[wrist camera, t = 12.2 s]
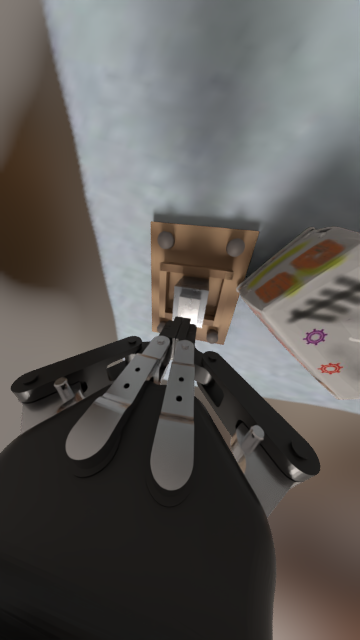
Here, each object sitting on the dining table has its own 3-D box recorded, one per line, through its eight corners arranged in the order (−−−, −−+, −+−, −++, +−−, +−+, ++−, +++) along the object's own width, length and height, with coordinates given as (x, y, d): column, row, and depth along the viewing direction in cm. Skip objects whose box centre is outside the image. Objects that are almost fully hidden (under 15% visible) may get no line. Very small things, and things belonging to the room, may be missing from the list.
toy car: (314, 374, 27) (363, 436, 18) (230, 285, 22) (244, 313, 13) (389, 347, 22) (505, 414, 13) (302, 224, 17) (399, 204, 8)
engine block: (183, 275, 21) (172, 287, 15) (209, 279, 21) (209, 293, 15) (180, 305, 24) (170, 325, 18) (203, 309, 23) (201, 331, 17)
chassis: (153, 222, 20) (144, 219, 17) (256, 232, 18) (265, 230, 15) (154, 328, 29) (148, 337, 26) (222, 340, 27) (224, 352, 24)
